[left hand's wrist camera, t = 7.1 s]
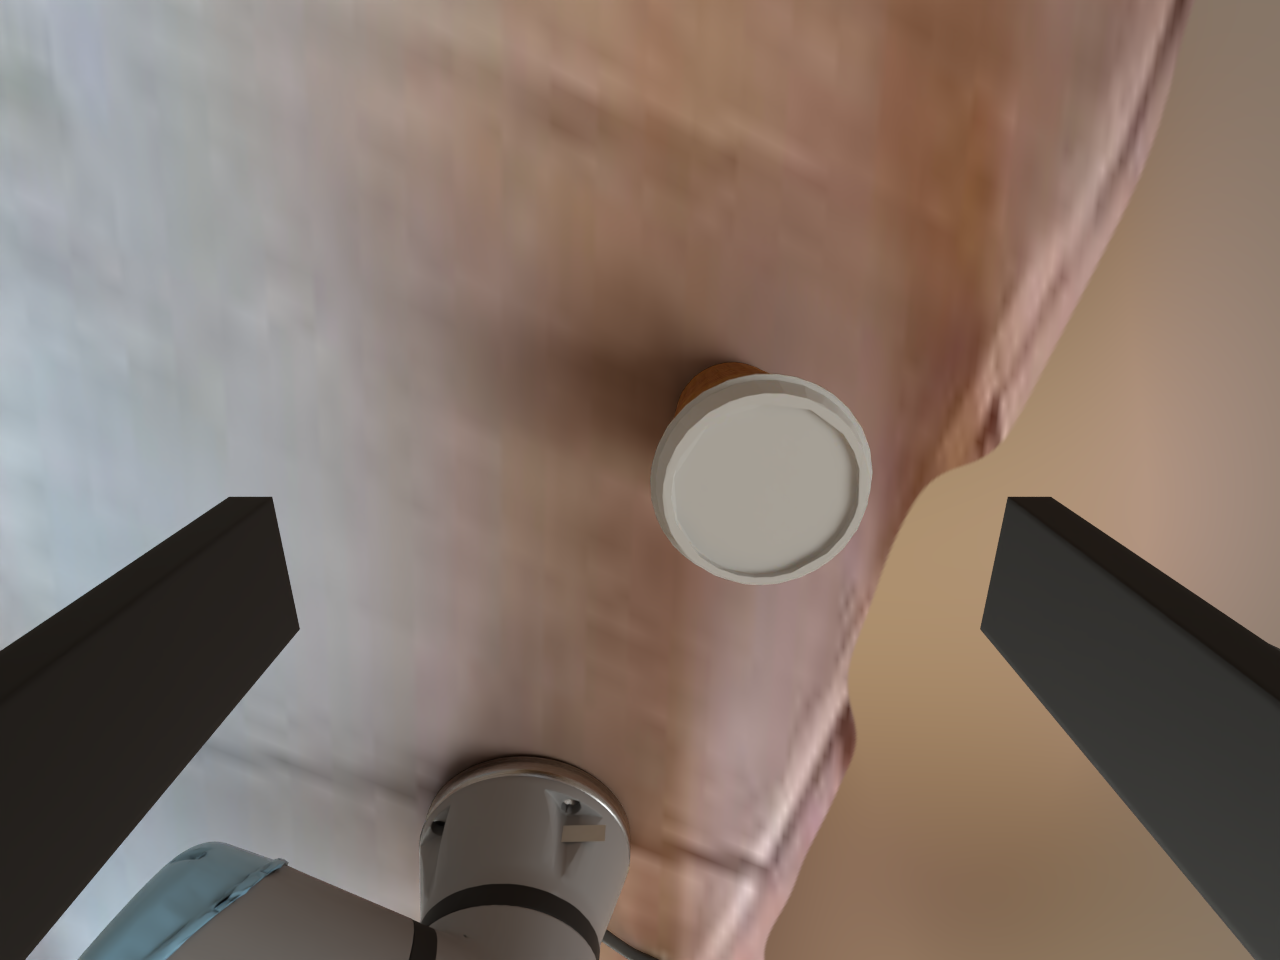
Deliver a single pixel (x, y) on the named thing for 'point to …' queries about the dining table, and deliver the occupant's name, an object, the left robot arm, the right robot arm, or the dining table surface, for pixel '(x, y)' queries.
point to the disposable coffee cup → (760, 475)
